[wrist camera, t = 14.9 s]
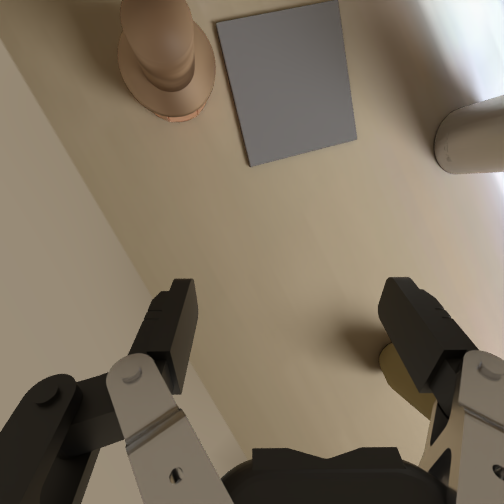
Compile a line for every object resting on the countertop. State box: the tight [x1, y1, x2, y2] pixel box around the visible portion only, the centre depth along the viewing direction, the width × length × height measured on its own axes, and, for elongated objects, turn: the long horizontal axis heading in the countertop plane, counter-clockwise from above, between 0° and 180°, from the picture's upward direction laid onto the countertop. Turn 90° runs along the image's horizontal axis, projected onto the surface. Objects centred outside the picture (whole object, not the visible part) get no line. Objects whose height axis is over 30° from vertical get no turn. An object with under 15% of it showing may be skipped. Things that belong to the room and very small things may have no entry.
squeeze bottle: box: [379, 343, 436, 420], centre depth 38 cm, size 8×8×18 cm
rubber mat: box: [216, 0, 357, 167], centre depth 34 cm, size 15×16×1 cm
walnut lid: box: [118, 0, 216, 117], centre depth 24 cm, size 9×9×8 cm
